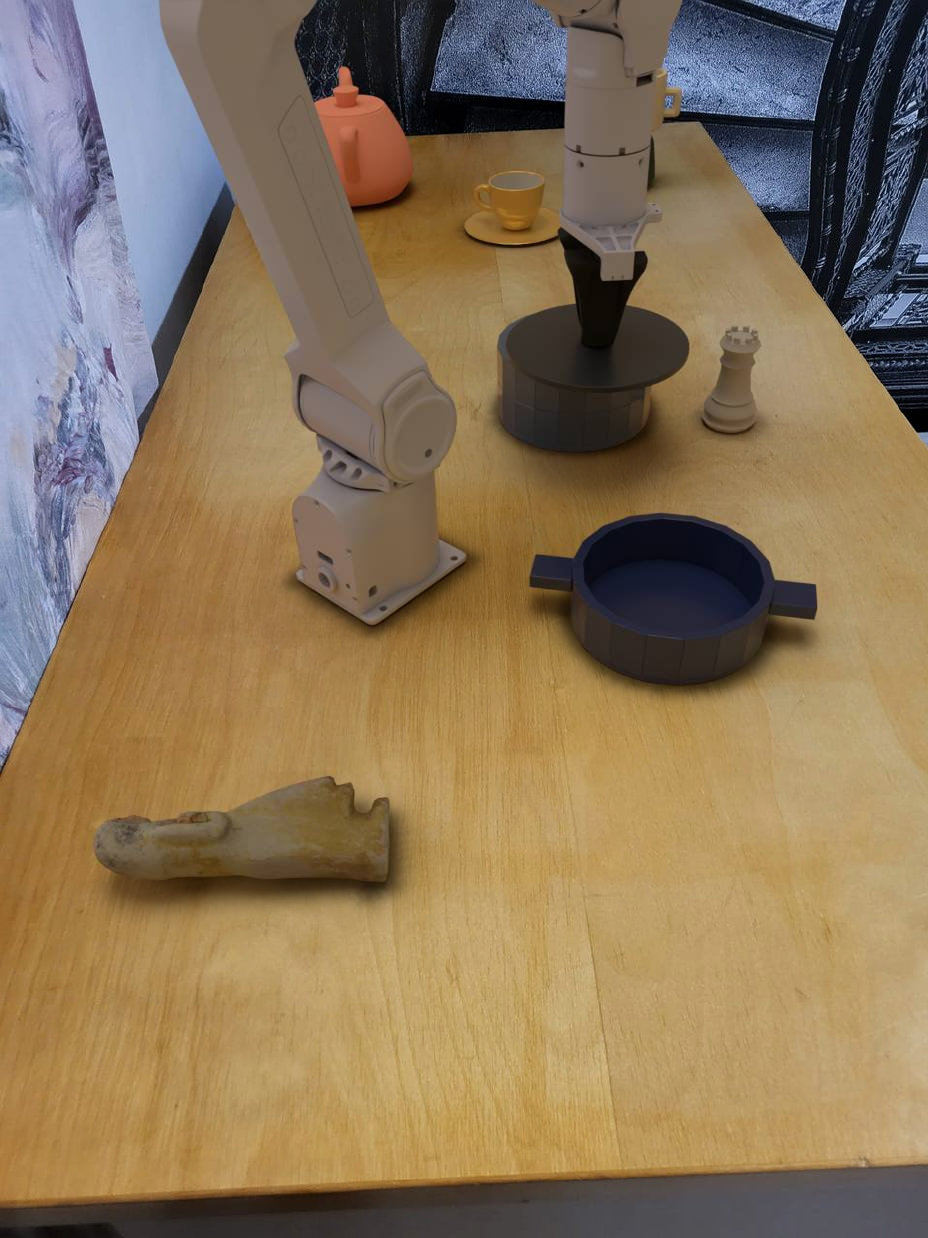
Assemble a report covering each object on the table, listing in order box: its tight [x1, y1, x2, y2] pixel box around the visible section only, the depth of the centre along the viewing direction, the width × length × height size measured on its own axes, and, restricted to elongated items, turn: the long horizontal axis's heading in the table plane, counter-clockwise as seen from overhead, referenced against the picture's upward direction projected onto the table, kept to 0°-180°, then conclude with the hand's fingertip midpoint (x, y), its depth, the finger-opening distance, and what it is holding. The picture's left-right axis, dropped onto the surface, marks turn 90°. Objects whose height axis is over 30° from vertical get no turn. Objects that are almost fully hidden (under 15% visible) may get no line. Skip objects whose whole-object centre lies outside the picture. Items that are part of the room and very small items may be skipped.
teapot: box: [314, 66, 414, 207], centre depth 125 cm, size 22×15×12 cm
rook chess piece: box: [701, 324, 762, 434], centre depth 82 cm, size 4×4×8 cm
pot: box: [496, 313, 653, 453], centre depth 84 cm, size 13×13×6 cm
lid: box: [506, 303, 690, 393], centre depth 75 cm, size 14×14×5 cm
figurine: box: [92, 775, 391, 883], centre depth 52 cm, size 5×5×15 cm
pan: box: [528, 512, 818, 686], centre depth 65 cm, size 13×18×4 cm
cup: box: [463, 170, 561, 245], centre depth 116 cm, size 12×12×5 cm
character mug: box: [647, 66, 683, 185], centre depth 124 cm, size 11×7×13 cm, turn 83°
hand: (596, 334), depth 76 cm, fingers closed on lid, 2 cm apart
